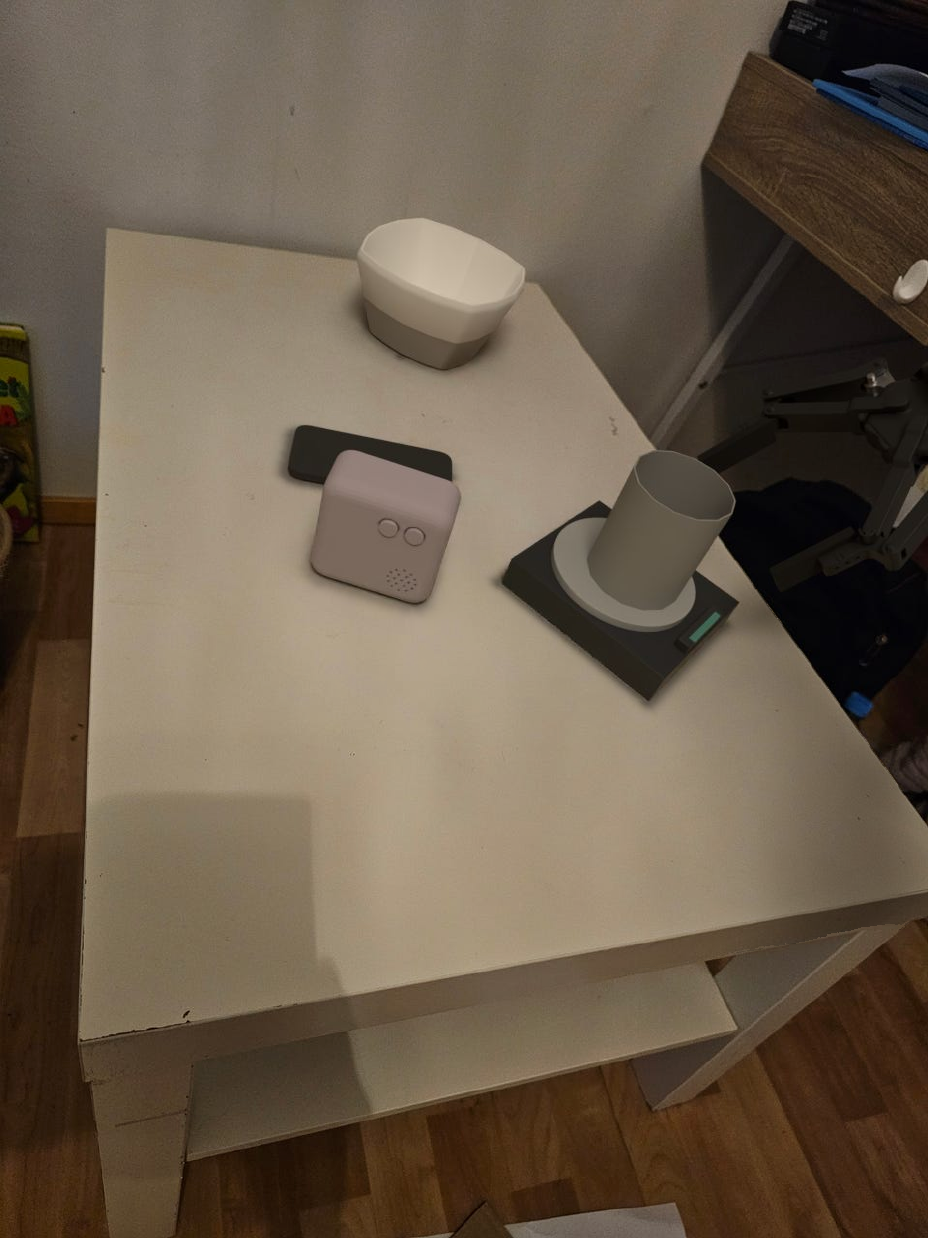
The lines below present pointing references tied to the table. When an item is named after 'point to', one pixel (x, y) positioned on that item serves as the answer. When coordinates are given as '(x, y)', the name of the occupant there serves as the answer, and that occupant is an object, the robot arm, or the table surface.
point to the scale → (614, 607)
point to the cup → (659, 529)
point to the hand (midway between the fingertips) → (736, 521)
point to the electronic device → (383, 526)
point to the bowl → (435, 289)
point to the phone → (323, 446)
